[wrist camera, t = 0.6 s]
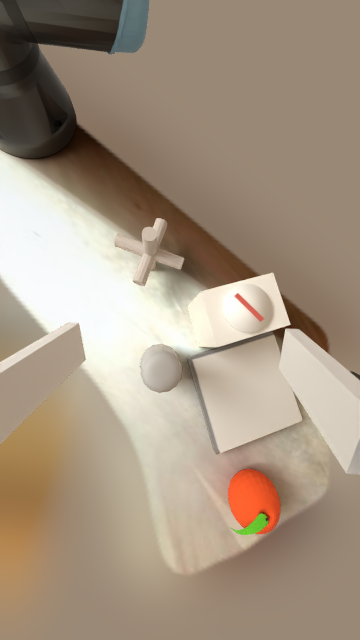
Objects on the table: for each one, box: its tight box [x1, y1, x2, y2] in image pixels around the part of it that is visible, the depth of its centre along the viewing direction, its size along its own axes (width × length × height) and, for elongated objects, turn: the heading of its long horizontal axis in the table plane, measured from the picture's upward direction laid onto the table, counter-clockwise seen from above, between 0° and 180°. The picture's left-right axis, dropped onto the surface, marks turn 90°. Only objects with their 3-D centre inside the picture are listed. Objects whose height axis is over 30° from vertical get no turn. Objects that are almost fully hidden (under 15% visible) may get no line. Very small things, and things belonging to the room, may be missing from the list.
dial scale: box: [187, 273, 303, 454], centre depth 29 cm, size 23×15×11 cm, turn 16°
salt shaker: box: [140, 344, 182, 393], centre depth 27 cm, size 6×6×13 cm
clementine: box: [228, 469, 280, 535], centre depth 29 cm, size 8×7×7 cm
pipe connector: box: [115, 218, 184, 286], centre depth 30 cm, size 10×10×10 cm
